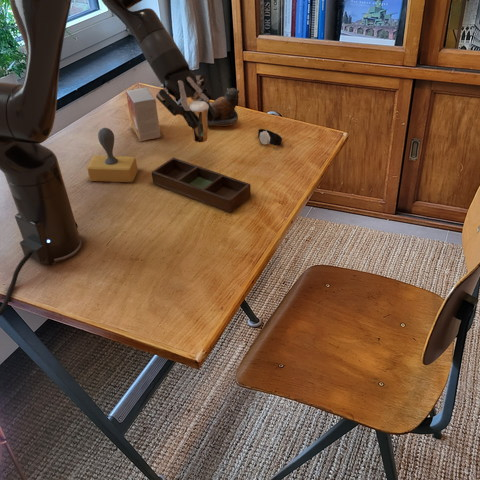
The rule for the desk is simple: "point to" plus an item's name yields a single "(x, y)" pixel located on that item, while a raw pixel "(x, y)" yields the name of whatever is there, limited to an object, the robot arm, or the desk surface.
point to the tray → (202, 184)
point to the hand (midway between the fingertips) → (204, 123)
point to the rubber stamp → (111, 162)
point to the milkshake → (200, 120)
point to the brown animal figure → (225, 109)
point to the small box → (143, 113)
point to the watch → (269, 137)
